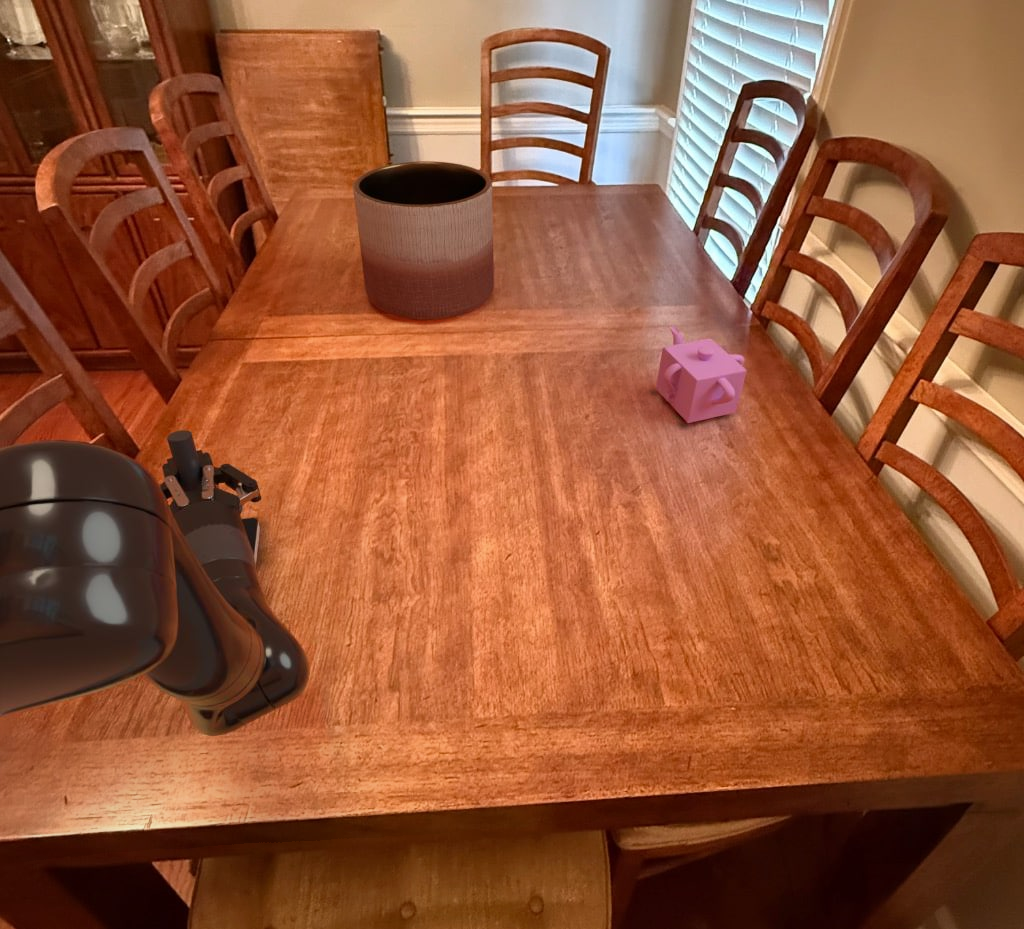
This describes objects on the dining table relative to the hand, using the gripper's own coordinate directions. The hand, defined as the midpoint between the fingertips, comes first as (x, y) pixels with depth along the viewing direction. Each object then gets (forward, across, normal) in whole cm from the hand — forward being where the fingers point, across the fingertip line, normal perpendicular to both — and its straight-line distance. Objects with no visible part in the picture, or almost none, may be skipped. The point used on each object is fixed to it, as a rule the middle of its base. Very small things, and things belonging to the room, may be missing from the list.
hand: (186, 460), depth 83 cm
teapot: (-8, -74, +10) cm, 75 cm away
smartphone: (-5, +2, +10) cm, 12 cm away
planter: (+46, -51, +10) cm, 69 cm away
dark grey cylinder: (-4, 0, +7) cm, 8 cm away
